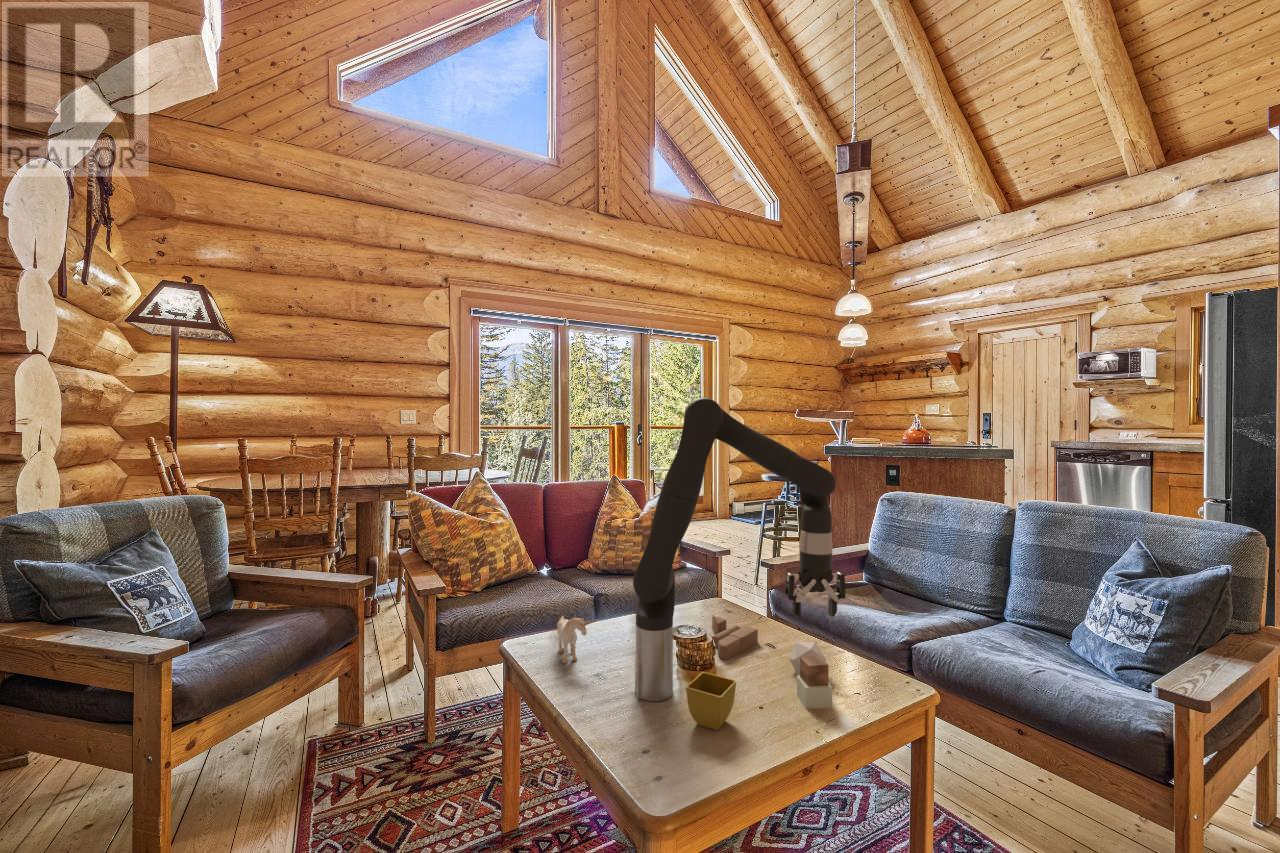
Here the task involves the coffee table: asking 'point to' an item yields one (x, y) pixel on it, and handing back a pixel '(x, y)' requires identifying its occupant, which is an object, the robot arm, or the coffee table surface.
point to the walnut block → (814, 671)
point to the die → (804, 653)
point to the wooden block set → (732, 638)
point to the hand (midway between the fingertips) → (814, 616)
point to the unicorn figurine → (570, 634)
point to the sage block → (814, 695)
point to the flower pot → (710, 699)
